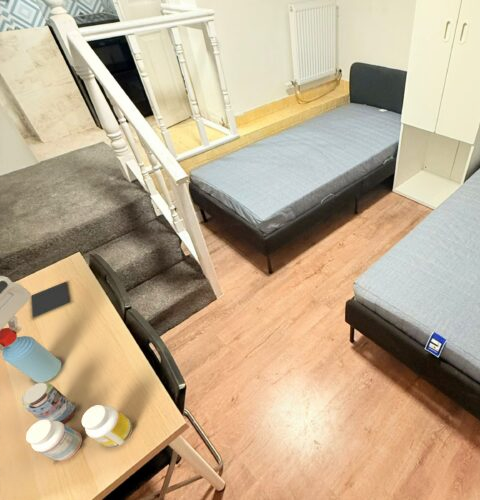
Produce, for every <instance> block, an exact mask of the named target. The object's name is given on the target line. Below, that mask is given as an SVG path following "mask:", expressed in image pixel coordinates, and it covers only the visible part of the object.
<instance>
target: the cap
mask: <svg viewBox="0 0 480 500" xmlns="http://www.w3.org/2000/svg"><path fill="white" fill-rule="evenodd" d="M17 337H18V333H17V334H16V333H15V332H14V331H12V330H11V329H9V327H3V328H2V329H1V330H0V344H2V345H3V346H4V347H5V346H8V345H10V344H12V343H13V342H14V341H15V340H16V338H17Z"/></svg>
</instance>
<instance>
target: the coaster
mask: <svg viewBox="0 0 480 500" xmlns="http://www.w3.org/2000/svg"><path fill="white" fill-rule="evenodd" d="M69 303H70V297H69V291H68V285H67V282H66V281H64V282H62V283H59V284H57V285H54V286H52V287H49V288H47V289H44V290H42V291H39V292H37V293H34V294H32V295H31V310H32V317H33V318H36V317H38V316H40V315H43V314H45V313H48V312H50V311H52V310H55V309H57V308H60V307H62V306H64V305H66V304H69Z"/></svg>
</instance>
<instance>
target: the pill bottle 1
mask: <svg viewBox="0 0 480 500" xmlns="http://www.w3.org/2000/svg"><path fill="white" fill-rule="evenodd" d="M25 440H26V442H27V443H29V444H30V446H31V448H32V450H34V451H35V452H37V453H40V454H42V455H44V456H46V457H48V458H50V459H53V460H55V461H58V462H62V461H66V460H68V459H70V458H71V457H72V456H74V455H75V454H76V453H77V452H78V451H79V450H80V447H81V446H82V442H83V437H82V434H81V433H80V432H78V431H77V430H75V429H73V428H71V427H70V426H68V425H67V424H63V423H61V422H59V421H49V420H46V419H43V420H38V421H35V422H34V423H33V424H32V425H31V426H30V427H29V429H28V430H27V432H26V435H25Z"/></svg>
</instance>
